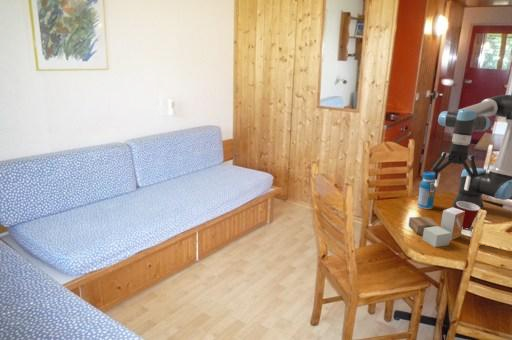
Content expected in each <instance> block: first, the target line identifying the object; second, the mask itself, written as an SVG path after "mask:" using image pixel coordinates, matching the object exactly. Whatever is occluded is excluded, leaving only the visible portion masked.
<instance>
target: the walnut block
mask: <svg viewBox="0 0 512 340" xmlns="http://www.w3.org/2000/svg"><path fill="white" fill-rule="evenodd" d="M434 226H439V224H438V223H437V222H436V221H434V220H433V219H432V218H431V217H428V216H426V217H425V216H422V217H421V216H417V217H415V216H412V217H411V216H410V217H409V220H408V227H409V228H410V229H411V230H412V231H413V232H414V233H415V234H416V235H420V236H421V235H422V236H423V232H424V228H428V227H434ZM439 227H440V226H439Z"/></svg>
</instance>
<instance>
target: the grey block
mask: <svg viewBox="0 0 512 340" xmlns="http://www.w3.org/2000/svg"><path fill="white" fill-rule="evenodd" d="M450 237H451V233H450V232H448V231H447V230H445V229H443V228H441V226H434V227H428V228H424V232H423V235H422V241H424V242H426V243H427V244H429V245H431V246H432V247H434V248H438V247H444V246H449V245H450V242H451V240H450Z"/></svg>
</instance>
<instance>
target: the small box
mask: <svg viewBox="0 0 512 340" xmlns="http://www.w3.org/2000/svg"><path fill="white" fill-rule="evenodd" d="M464 214H465V211H462V210H459V209H457V208H455V207H454V206H452V207H449V208H447V209H444V210H443V211H442V215H441V222H440V227H441V228H443V229H445V230H447V231H448V232H450V233H451V237H450V241H453V240H455V239H458V238H460V237H461V236H462V230H463V229H462V225H463V220H464Z"/></svg>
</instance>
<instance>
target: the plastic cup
mask: <svg viewBox="0 0 512 340" xmlns="http://www.w3.org/2000/svg"><path fill="white" fill-rule="evenodd" d="M456 204H457V208H456V209H459V210H462V211H465V214H464V220H463V225H462V227H463V228H470V227H471V228H472V225H473V223H474V221H475V219H476V216H477V214H478V213H479V212H478V210H479V209H480V207H479V206H478V205H475V204H473V203H470V202H465V201H459V202H456ZM471 228H470V229H471Z"/></svg>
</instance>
